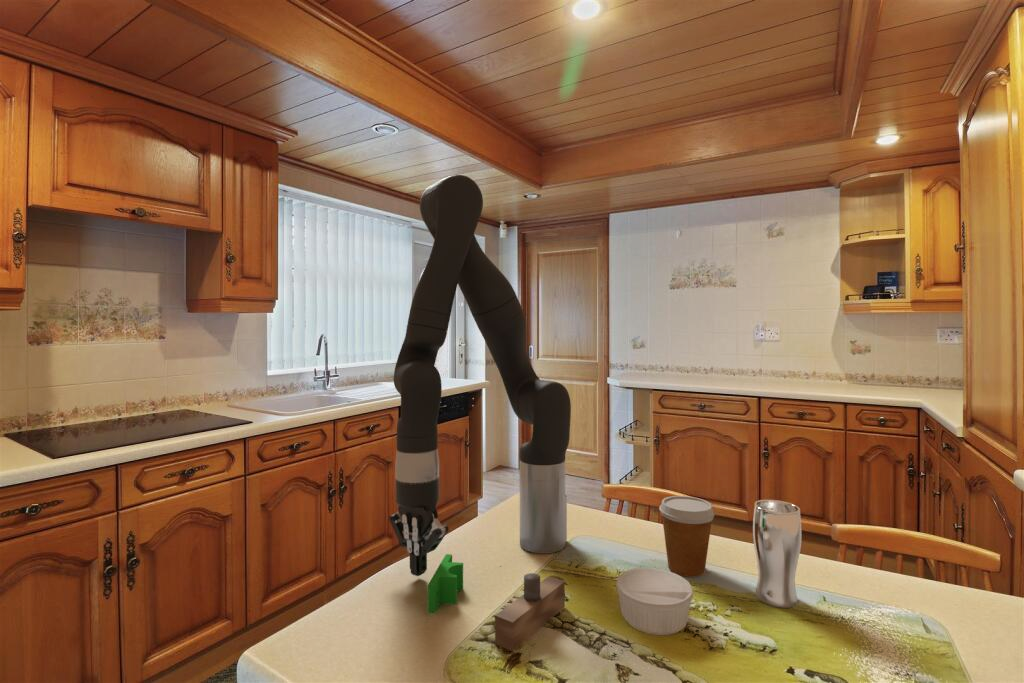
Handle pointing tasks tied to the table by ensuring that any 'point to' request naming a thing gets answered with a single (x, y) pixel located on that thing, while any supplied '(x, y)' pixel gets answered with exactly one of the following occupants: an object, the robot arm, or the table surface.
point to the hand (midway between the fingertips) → (418, 573)
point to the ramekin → (654, 600)
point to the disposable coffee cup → (686, 533)
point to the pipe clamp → (445, 584)
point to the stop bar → (529, 611)
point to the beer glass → (777, 551)
